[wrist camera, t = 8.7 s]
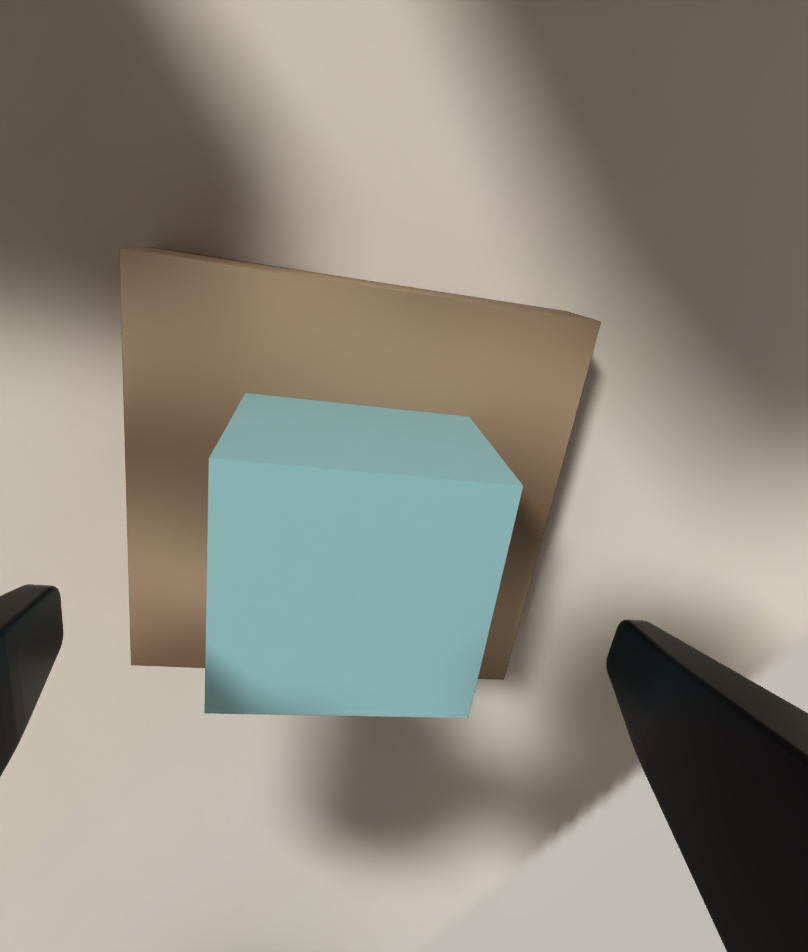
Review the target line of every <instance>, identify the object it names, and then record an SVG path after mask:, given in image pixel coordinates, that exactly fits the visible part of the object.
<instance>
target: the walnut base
mask: <svg viewBox="0 0 808 952" xmlns="http://www.w3.org/2000/svg"><path fill="white" fill-rule="evenodd" d="M119 252H120V288H121V324H122V360H123V395H124V431H125V467H126V503H127V538H128V574H129V610H130V646H131V665H141V666H167V667H193V668H205V659H206V599H207V538H208V478H209V457H210V455H211V454H212V452H213V450H214V448H215V446H216V445H217V443H218V441H219V439H220V438H221V436H222V434H223V432H224V430H225V429H226V427H227V425H228V423H229V421H230V420H231V418H232V416H233V414H234V413H235V411H236V409H237V407H238V405H239V404H240V402H241V400H242V398H243V396H244V395H245V393H250V394H259V395H269V396H278V397H287V398H297V399H306V400H316V401H325V402H334V403H344V404H353V405H363V406H372V407H381V408H391V409H400V410H410V411H419V412H429V413H438V414H447V415H457V416H466V417H470V418H471V420H472V421H473V422H474V423H475V425H476V426H477V427H478V429H479V430H480V431H481V432H482V434H483V435H484V436H485V437H486V439H487V440H488V441H489V443H490V444H491V445H492V446H493V448H494V449H495V450H496V452H497V453H498V454H499V455H500V457H501V458H502V459H503V461H504V462H505V463H506V464H507V466H508V467H509V468H510V470H511V471H512V472H513V473H514V475H515V476H516V477H517V479H518V480H519V481H520V482H521V484H522V485H523V489H522V493H521V498H520V502H519V506H518V510H517V514H516V519H515V523H514V527H513V531H512V536H511V540H510V544H509V548H508V553H507V557H506V561H505V565H504V570H503V574H502V578H501V582H500V586H499V591H498V595H497V599H496V603H495V608H494V612H493V616H492V620H491V625H490V629H489V633H488V637H487V642H486V646H485V650H484V654H483V658H482V663H481V667H480V671H479V675H478V679H501V680H504V678H505V674H506V670H507V666H508V663H509V659H510V655H511V652H512V648H513V644H514V641H515V637H516V633H517V630H518V626H519V622H520V618H521V615H522V611H523V607H524V604H525V600H526V596H527V593H528V589H529V585H530V582H531V578H532V574H533V571H534V567H535V563H536V559H537V556H538V552H539V548H540V545H541V541H542V537H543V534H544V530H545V526H546V523H547V519H548V515H549V512H550V508H551V504H552V500H553V497H554V493H555V489H556V486H557V482H558V478H559V475H560V471H561V467H562V464H563V460H564V456H565V452H566V449H567V445H568V441H569V438H570V434H571V430H572V427H573V423H574V419H575V416H576V412H577V408H578V405H579V401H580V397H581V393H582V390H583V386H584V382H585V379H586V375H587V371H588V368H589V364H590V360H591V357H592V353H593V349H594V346H595V342H596V338H597V334H598V331H599V327H600V323H601V322H600V321H597V320H593V319H590V318H587V317H584V316H580V315H577V314H574V313H570V312H567V311H561V310H555V309H548V308H542V307H535V306H529V305H522V304H516V303H509V302H503V301H496V300H490V299H483V298H477V297H470V296H464V295H457V294H451V293H444V292H438V291H431V290H425V289H418V288H412V287H405V286H399V285H392V284H386V283H379V282H373V281H366V280H360V279H353V278H347V277H340V276H334V275H327V274H321V273H314V272H308V271H301V270H295V269H288V268H282V267H275V266H269V265H262V264H256V263H249V262H243V261H236V260H230V259H223V258H217V257H210V256H204V255H197V254H191V253H184V252H178V251H171V250H165V249H158V248H152V247H143V248H119Z"/></svg>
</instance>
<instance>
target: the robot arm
mask: <svg viewBox="0 0 808 952" xmlns="http://www.w3.org/2000/svg"><path fill="white" fill-rule="evenodd" d="M62 640H63V622H62V610H61V598H60V593H59V590H58V589H57V588H56V587H55V586H48V585H31V584H28V585H24V586H21V587H19V588H17V589H15V590H13V591H10V592H8V593H6V594H4V595H2V596H0V776H1V775H2V773H3V771H4V769H5V768H6V766H7V764H8V762H9V761H10V759H11V757H12V755H13V753H14V751H15V750H16V748H17V746H18V744H19V742H20V740H21V737H22V735H23V733H24V731H25V729H26V727H27V724H28V722H29V720H30V717H31V715H32V713H33V710H34V708H35V706H36V704H37V701H38V699H39V697H40V694H41V692H42V690H43V687H44V685H45V683H46V680H47V678H48V676H49V673H50V671H51V669H52V667H53V664H54V662H55V660H56V657H57V655H58V653H59V650H60V648H61V644H62ZM607 672H608V675H609V678H610V681H611V684H612V686H613V689H614V692H615V695H616V698H617V701H618V704H619V707H620V709H621V712H622V715H623V718H624V721H625V724H626V727H627V730H628V732H629V735H630V738H631V741H632V744H633V746H634V749H635V752H636V754H637V756H638V759H639V761H640V763H641V766H642V768H643V770H644V772H645V775H646V777H647V779H648V781H649V783H650V785H651V788H652V790H653V792H654V794H655V796H656V798H657V801H658V803H659V805H660V807H661V809H662V812H663V814H664V816H665V818H666V820H667V822H668V825H669V827H670V829H671V831H672V833H673V835H674V838H675V840H676V842H677V844H678V846H679V848H680V850H681V853H682V855H683V857H684V859H685V861H686V864H687V866H688V868H689V870H690V872H691V874H692V877H693V879H694V881H695V883H696V885H697V887H698V890H699V892H700V894H701V896H702V898H703V900H704V903H705V905H706V907H707V909H708V911H709V913H710V916H711V918H712V919H713V922H714V924H715V927H716V929H717V931H718V933H719V935H720V937H721V940H722V942H723V944H724V946H725V948H726V950H727V952H808V713H806V712H805V711H803V710H801V709H799V708H798V707H796V706H794V705H792V704H791V703H789V702H787V701H785V700H784V699H782V698H780V697H778V696H777V695H775V694H773V693H771V692H770V691H768V690H766V689H764V688H763V687H761V686H759V685H758V684H756V683H754V682H752V681H751V680H749V679H747V678H745V677H744V676H742V675H740V674H738V673H737V672H735V671H733V670H731V669H730V668H728V667H726V666H724V665H723V664H721V663H719V662H717V661H716V660H714V659H712V658H710V657H709V656H707V655H705V654H703V653H702V652H700V651H698V650H696V649H695V648H693V647H691V646H689V645H688V644H686V643H684V642H682V641H681V640H679V639H677V638H675V637H674V636H672V635H670V634H668V633H667V632H665V631H663V630H661V629H660V628H658V627H656V626H654V625H653V624H651V623H649V622H647V621H643V620H623V621H622V622H621V623H620V624H619V625H618V627H617V630H616V633H615V636H614V639H613V642H612V645H611V647H610V650H609V653H608V656H607Z"/></svg>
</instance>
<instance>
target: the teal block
mask: <svg viewBox="0 0 808 952" xmlns="http://www.w3.org/2000/svg"><path fill="white" fill-rule="evenodd" d="M522 489H523V485H522V484H521V482H520V481H519V480H518V479H517V477H516V476H515V475H514V473H513V472H512V471H511V470H510V468H509V467H508V466H507V464H506V463H505V462H504V461H503V459H502V458H501V457H500V455H499V454H498V453H497V452H496V450H495V449H494V448H493V446H492V445H491V444H490V443H489V441H488V440H487V439H486V437H485V436H484V435H483V434H482V432H481V431H480V430H479V429H478V427H477V426H476V425H475V423H474V422H473V421H472V420H471V418H470V417H466V416H457V415H447V414H438V413H429V412H419V411H410V410H400V409H391V408H381V407H372V406H363V405H353V404H344V403H334V402H325V401H316V400H306V399H297V398H287V397H278V396H269V395H259V394H250V393H245V395H244V396H243V398H242V400H241V402H240V404H239V405H238V407H237V409H236V411H235V413H234V414H233V416H232V418H231V420H230V421H229V423H228V425H227V427H226V429H225V430H224V432H223V434H222V436H221V438H220V439H219V441H218V443H217V445H216V446H215V448H214V450H213V452H212V454H211V455H210V457H209V478H208V538H207V599H206V659H205V713H219V714H274V715H330V716H385V717H441V718H469V713H470V709H471V705H472V701H473V697H474V692H475V688H476V684H477V680H478V675H479V671H480V667H481V663H482V658H483V654H484V650H485V646H486V642H487V637H488V633H489V629H490V625H491V620H492V616H493V612H494V608H495V603H496V599H497V595H498V591H499V586H500V582H501V578H502V574H503V570H504V565H505V561H506V557H507V553H508V548H509V544H510V540H511V536H512V531H513V527H514V523H515V519H516V514H517V510H518V506H519V502H520V498H521V493H522Z"/></svg>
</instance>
